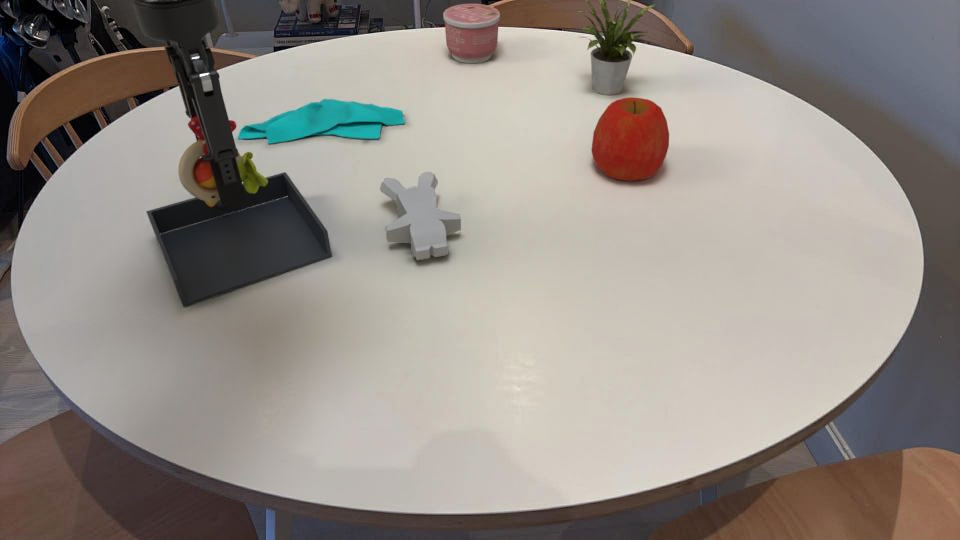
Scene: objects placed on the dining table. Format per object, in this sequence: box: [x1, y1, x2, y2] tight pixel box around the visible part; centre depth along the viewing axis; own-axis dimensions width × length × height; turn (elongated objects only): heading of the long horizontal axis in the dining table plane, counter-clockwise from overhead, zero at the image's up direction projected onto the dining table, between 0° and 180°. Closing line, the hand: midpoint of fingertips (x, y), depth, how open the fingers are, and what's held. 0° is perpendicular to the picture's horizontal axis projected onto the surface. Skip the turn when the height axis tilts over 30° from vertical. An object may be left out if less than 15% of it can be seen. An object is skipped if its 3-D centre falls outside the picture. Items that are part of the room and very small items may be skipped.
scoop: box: [146, 171, 333, 308], centre depth 91 cm, size 27×18×4 cm
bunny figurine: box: [379, 171, 462, 261], centre depth 90 cm, size 10×5×15 cm
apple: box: [591, 96, 670, 182], centre depth 99 cm, size 11×11×11 cm
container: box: [442, 3, 501, 64], centre depth 131 cm, size 10×10×8 cm
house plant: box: [577, 0, 658, 96], centre depth 118 cm, size 14×14×16 cm
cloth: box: [237, 98, 406, 145], centre depth 113 cm, size 26×14×2 cm, turn 93°
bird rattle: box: [177, 117, 268, 207], centre depth 79 cm, size 6×11×9 cm
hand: (227, 189), depth 83 cm, fingers closed on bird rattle, 5 cm apart
